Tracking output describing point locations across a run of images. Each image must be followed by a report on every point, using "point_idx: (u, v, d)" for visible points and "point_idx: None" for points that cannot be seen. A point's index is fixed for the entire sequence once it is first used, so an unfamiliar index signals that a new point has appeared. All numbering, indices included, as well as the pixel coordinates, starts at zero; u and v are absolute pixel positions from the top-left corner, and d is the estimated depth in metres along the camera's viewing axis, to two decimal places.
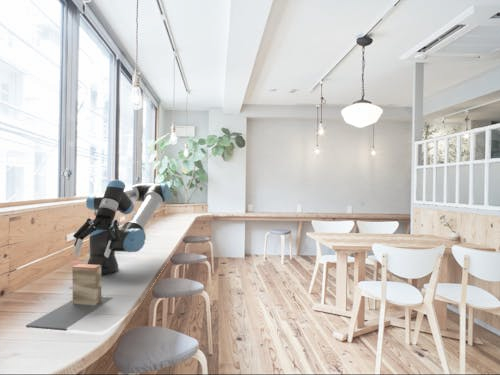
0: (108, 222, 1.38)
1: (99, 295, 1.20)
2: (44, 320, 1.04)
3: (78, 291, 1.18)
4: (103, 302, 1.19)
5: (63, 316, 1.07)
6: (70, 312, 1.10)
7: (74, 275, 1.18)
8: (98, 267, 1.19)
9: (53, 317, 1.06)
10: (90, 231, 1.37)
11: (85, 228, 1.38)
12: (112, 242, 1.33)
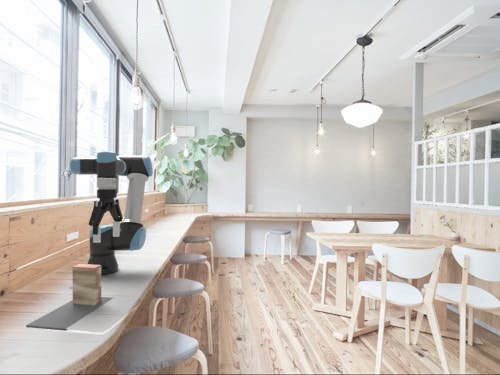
0: (113, 203, 1.34)
1: (99, 295, 1.20)
2: (44, 320, 1.04)
3: (78, 291, 1.18)
4: (103, 302, 1.19)
5: (63, 316, 1.07)
6: (70, 312, 1.10)
7: (74, 275, 1.18)
8: (98, 267, 1.19)
9: (53, 317, 1.06)
10: None
11: None
12: None
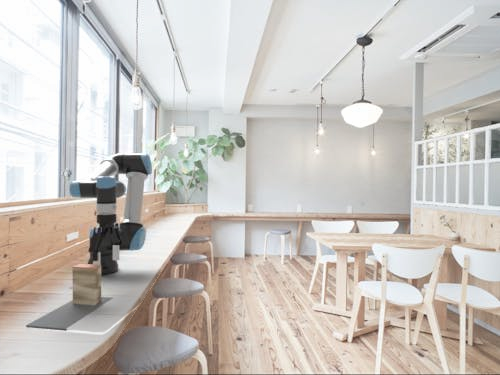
0: (113, 227, 1.34)
1: (99, 295, 1.20)
2: (44, 320, 1.04)
3: (78, 291, 1.18)
4: (103, 302, 1.19)
5: (63, 316, 1.07)
6: (70, 312, 1.10)
7: (74, 275, 1.18)
8: (98, 267, 1.19)
9: (53, 317, 1.06)
10: None
11: None
12: (118, 246, 1.39)
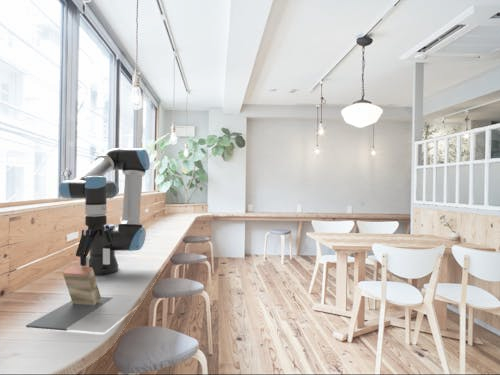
0: (103, 229, 1.27)
1: (97, 294, 1.18)
2: (44, 320, 1.04)
3: (75, 293, 1.16)
4: (103, 302, 1.19)
5: (63, 316, 1.07)
6: (70, 312, 1.10)
7: (67, 280, 1.14)
8: (90, 271, 1.14)
9: (53, 317, 1.06)
10: None
11: None
12: None
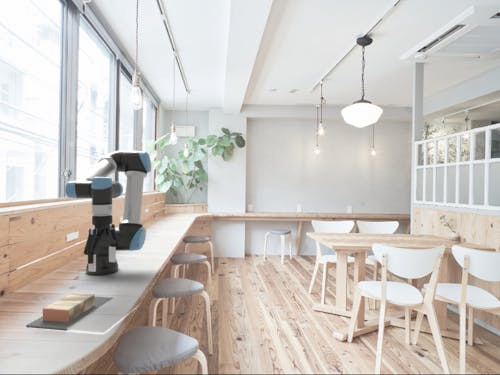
0: (109, 228, 1.31)
1: (89, 300, 1.14)
2: None
3: None
4: (103, 302, 1.19)
5: None
6: None
7: None
8: (68, 314, 1.03)
9: None
10: None
11: None
12: None
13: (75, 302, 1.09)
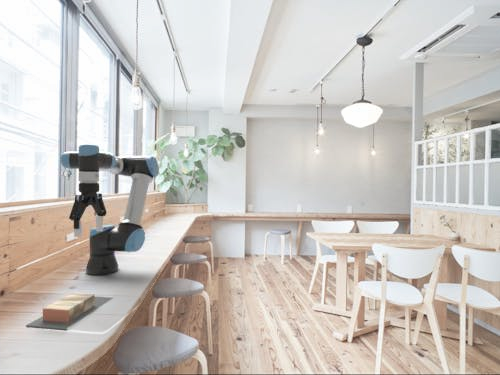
0: (96, 197, 1.32)
1: (89, 300, 1.14)
2: None
3: None
4: (103, 302, 1.19)
5: None
6: None
7: None
8: (68, 314, 1.03)
9: None
10: None
11: None
12: None
13: (75, 302, 1.09)
